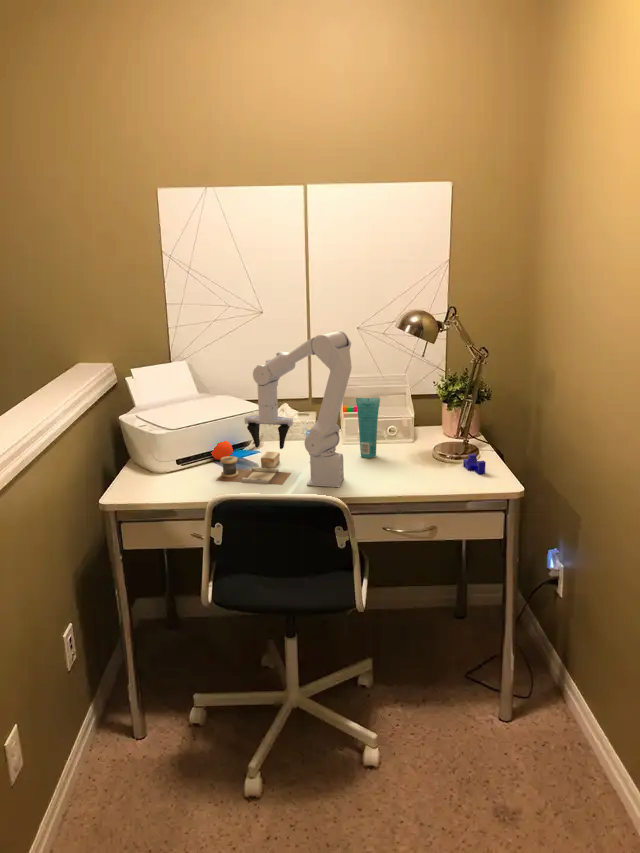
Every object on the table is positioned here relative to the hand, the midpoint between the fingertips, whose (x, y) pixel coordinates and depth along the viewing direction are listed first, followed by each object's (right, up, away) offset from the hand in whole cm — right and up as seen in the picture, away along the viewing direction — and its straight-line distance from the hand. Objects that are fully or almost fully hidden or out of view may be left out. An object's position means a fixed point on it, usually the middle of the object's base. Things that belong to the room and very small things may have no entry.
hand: (269, 447), depth 222 cm
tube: (+31, -3, +13) cm, 33 cm away
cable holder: (+61, -7, -2) cm, 62 cm away
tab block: (0, -7, +2) cm, 8 cm away
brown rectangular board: (-4, -10, -7) cm, 13 cm away
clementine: (-16, -5, +11) cm, 20 cm away
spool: (-11, -8, -6) cm, 15 cm away
